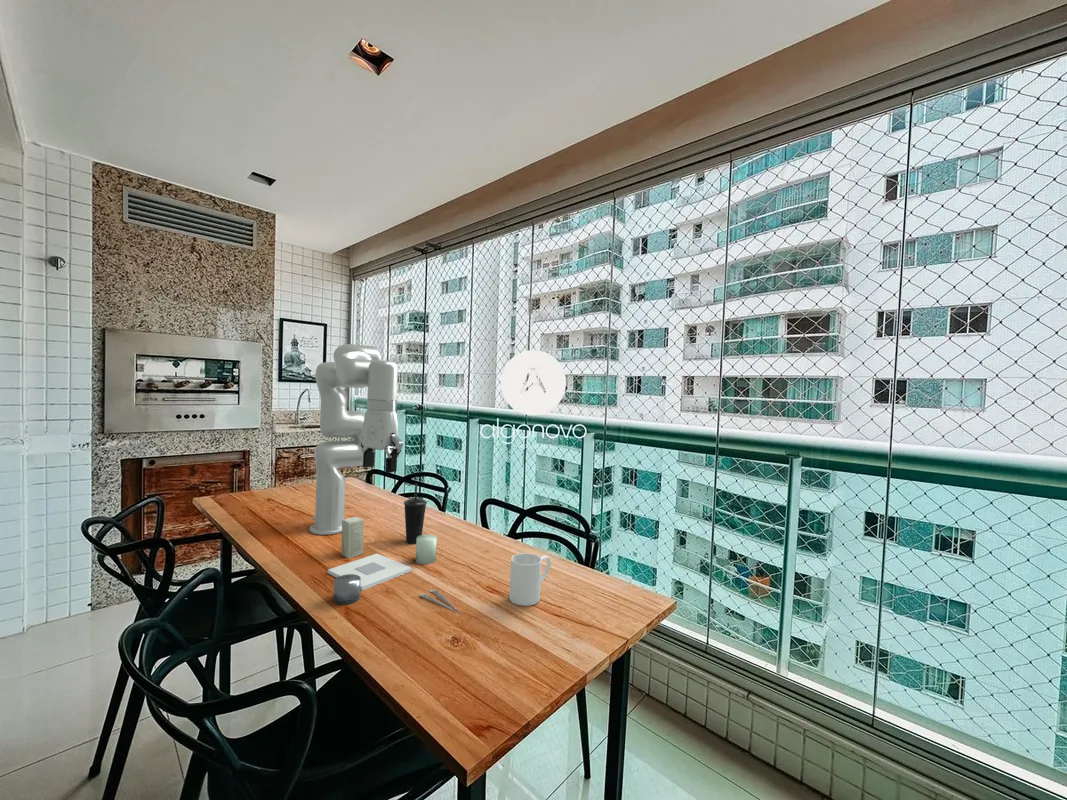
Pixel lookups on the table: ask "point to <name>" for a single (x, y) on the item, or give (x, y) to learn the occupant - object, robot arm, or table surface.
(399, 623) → the table surface
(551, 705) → the table surface
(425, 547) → the pale green capsule
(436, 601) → the tweezers
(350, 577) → the dark tin
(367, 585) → the white square plate
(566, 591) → the table surface
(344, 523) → the box
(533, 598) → the mug
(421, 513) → the drinking cup
